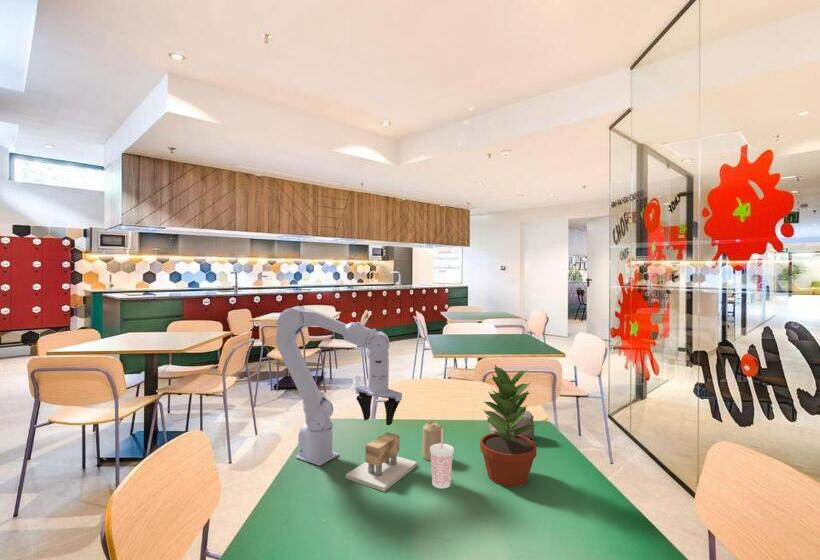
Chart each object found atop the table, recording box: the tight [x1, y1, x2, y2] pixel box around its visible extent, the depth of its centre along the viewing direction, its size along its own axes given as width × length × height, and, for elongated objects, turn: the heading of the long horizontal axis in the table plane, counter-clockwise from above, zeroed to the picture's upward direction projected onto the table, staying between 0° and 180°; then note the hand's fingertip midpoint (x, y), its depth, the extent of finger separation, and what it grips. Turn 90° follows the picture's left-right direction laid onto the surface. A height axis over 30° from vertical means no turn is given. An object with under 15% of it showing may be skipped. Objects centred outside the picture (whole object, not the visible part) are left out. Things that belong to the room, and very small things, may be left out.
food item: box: [488, 410, 535, 440], centre depth 132 cm, size 14×8×10 cm, turn 92°
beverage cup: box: [430, 427, 455, 489], centre depth 102 cm, size 6×6×14 cm
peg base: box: [345, 453, 418, 492], centre depth 107 cm, size 12×16×4 cm
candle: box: [422, 420, 443, 462], centre depth 116 cm, size 6×6×10 cm
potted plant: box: [479, 364, 537, 488], centre depth 106 cm, size 15×15×30 cm
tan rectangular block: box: [364, 432, 400, 466], centre depth 107 cm, size 10×4×4 cm, turn 149°
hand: (377, 421), depth 115 cm, fingers open, 7 cm apart
